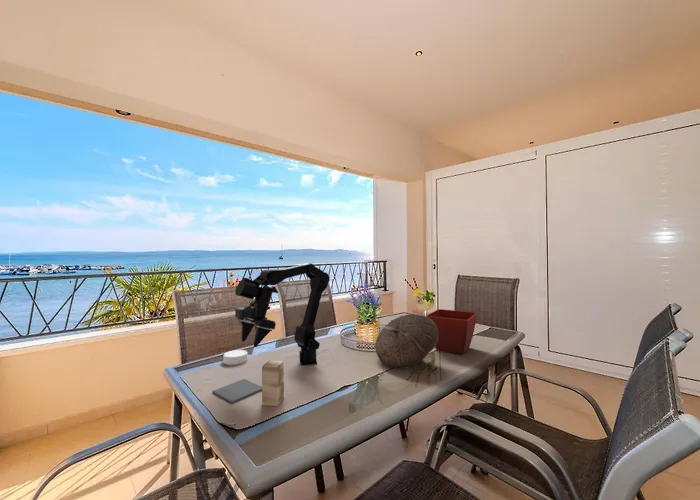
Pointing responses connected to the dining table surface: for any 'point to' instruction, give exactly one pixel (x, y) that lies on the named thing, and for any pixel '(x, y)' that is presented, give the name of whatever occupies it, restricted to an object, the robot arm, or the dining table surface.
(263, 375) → the beech block
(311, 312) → the robot arm
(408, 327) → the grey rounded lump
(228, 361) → the white short cylinder
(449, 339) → the plant pot
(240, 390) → the charcoal mat
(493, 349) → the dining table surface
